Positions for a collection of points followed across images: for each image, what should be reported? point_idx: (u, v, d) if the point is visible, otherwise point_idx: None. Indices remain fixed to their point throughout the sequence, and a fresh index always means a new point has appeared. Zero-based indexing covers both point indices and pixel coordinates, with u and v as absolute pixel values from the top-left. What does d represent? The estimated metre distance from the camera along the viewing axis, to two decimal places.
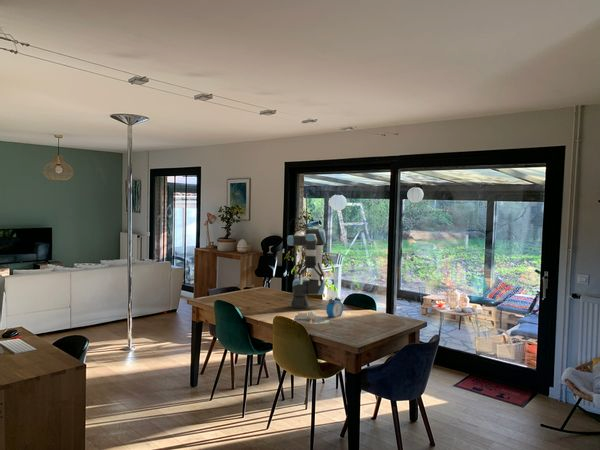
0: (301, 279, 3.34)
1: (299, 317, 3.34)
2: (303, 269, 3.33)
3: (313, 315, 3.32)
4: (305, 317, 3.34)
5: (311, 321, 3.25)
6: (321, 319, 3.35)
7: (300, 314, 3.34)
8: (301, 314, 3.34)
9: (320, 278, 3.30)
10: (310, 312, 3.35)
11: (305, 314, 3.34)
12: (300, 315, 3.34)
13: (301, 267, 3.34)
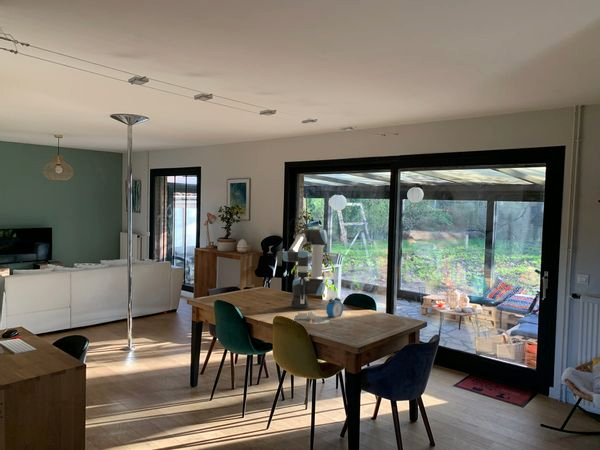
0: None
1: (299, 317, 3.34)
2: None
3: (313, 315, 3.32)
4: (305, 317, 3.34)
5: (311, 321, 3.25)
6: (321, 319, 3.35)
7: (300, 314, 3.34)
8: (301, 314, 3.34)
9: (301, 296, 3.39)
10: (310, 312, 3.35)
11: (305, 314, 3.34)
12: (300, 315, 3.34)
13: None
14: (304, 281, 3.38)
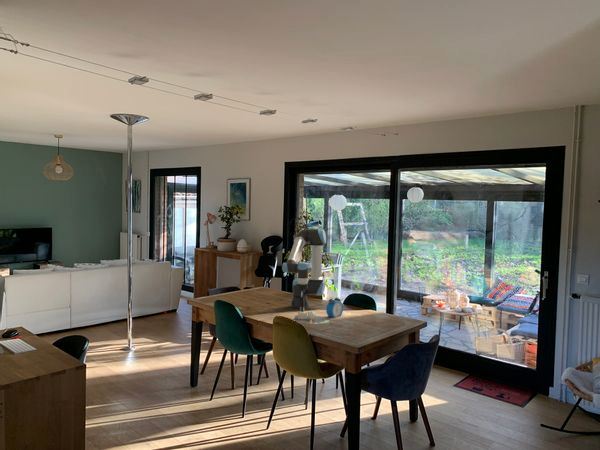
0: None
1: (299, 317, 3.34)
2: None
3: (313, 315, 3.32)
4: (305, 317, 3.34)
5: (311, 321, 3.25)
6: (321, 319, 3.35)
7: (300, 314, 3.34)
8: (301, 314, 3.34)
9: (301, 308, 3.39)
10: (310, 312, 3.35)
11: (305, 314, 3.34)
12: (300, 315, 3.34)
13: None
14: (304, 293, 3.38)
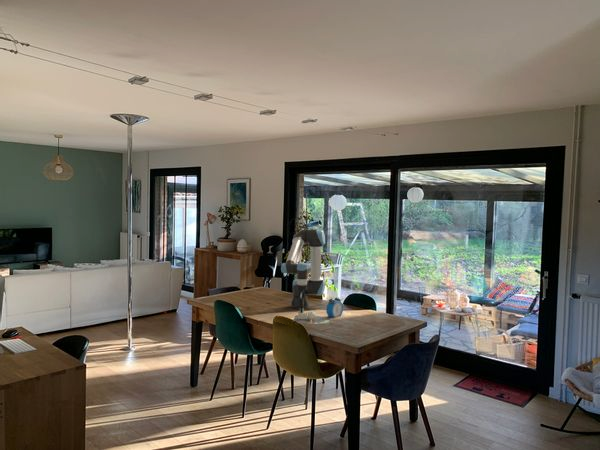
0: None
1: (299, 317, 3.34)
2: None
3: (313, 315, 3.32)
4: (305, 317, 3.34)
5: (311, 321, 3.25)
6: (321, 319, 3.35)
7: (300, 314, 3.34)
8: (301, 314, 3.34)
9: None
10: (310, 312, 3.35)
11: (305, 314, 3.34)
12: (300, 315, 3.34)
13: None
14: (303, 294, 3.33)
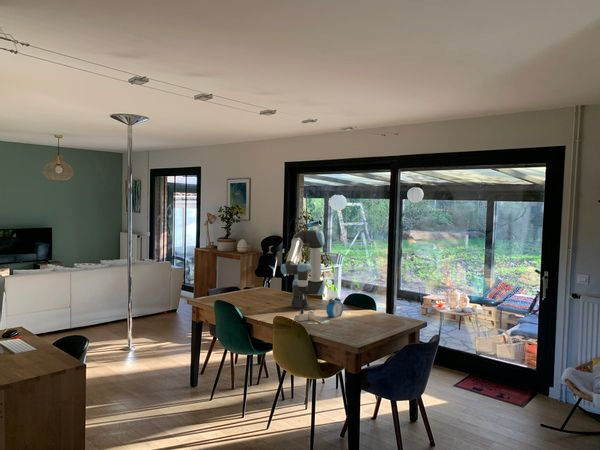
0: None
1: (301, 319, 3.29)
2: (299, 301, 3.33)
3: (315, 315, 3.33)
4: (306, 318, 3.31)
5: (318, 321, 3.27)
6: (321, 319, 3.35)
7: (302, 316, 3.30)
8: (303, 316, 3.30)
9: (301, 311, 3.31)
10: (310, 312, 3.34)
11: (306, 315, 3.31)
12: (302, 317, 3.30)
13: None
14: (304, 295, 3.30)
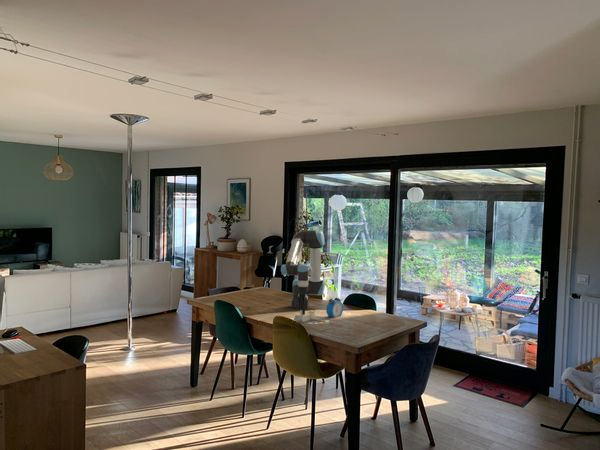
0: None
1: (305, 320, 3.27)
2: (300, 302, 3.32)
3: (315, 314, 3.34)
4: (308, 318, 3.30)
5: (322, 320, 3.29)
6: (321, 319, 3.35)
7: (305, 316, 3.27)
8: (306, 316, 3.28)
9: (302, 312, 3.30)
10: (310, 312, 3.34)
11: (308, 315, 3.30)
12: (305, 318, 3.28)
13: None
14: None
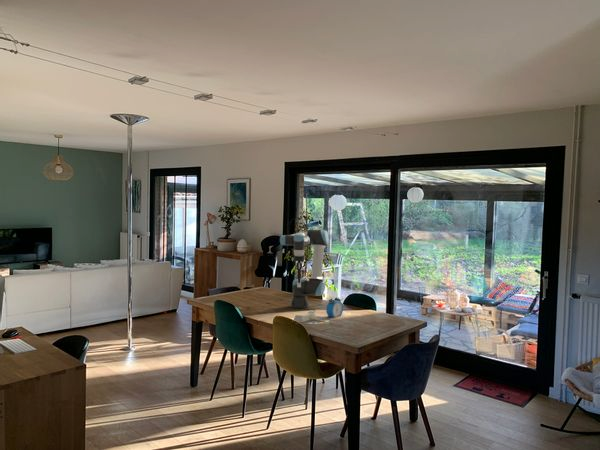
0: None
1: (305, 320, 3.27)
2: None
3: (315, 314, 3.34)
4: (308, 318, 3.30)
5: (322, 320, 3.29)
6: (321, 319, 3.35)
7: (305, 316, 3.27)
8: (306, 316, 3.28)
9: (298, 280, 3.40)
10: (310, 312, 3.34)
11: (308, 315, 3.30)
12: (305, 318, 3.28)
13: None
14: (301, 265, 3.39)
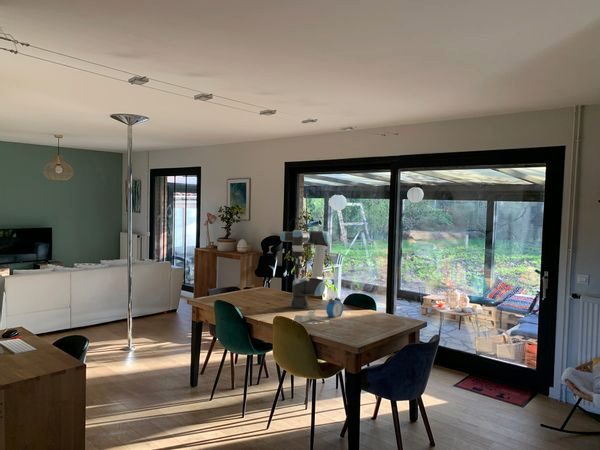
0: None
1: (305, 320, 3.27)
2: None
3: (315, 314, 3.34)
4: (308, 318, 3.30)
5: (322, 320, 3.29)
6: (321, 319, 3.35)
7: (305, 316, 3.27)
8: (306, 316, 3.28)
9: (296, 276, 3.43)
10: (310, 312, 3.34)
11: (308, 315, 3.30)
12: (305, 318, 3.28)
13: None
14: (299, 260, 3.42)
